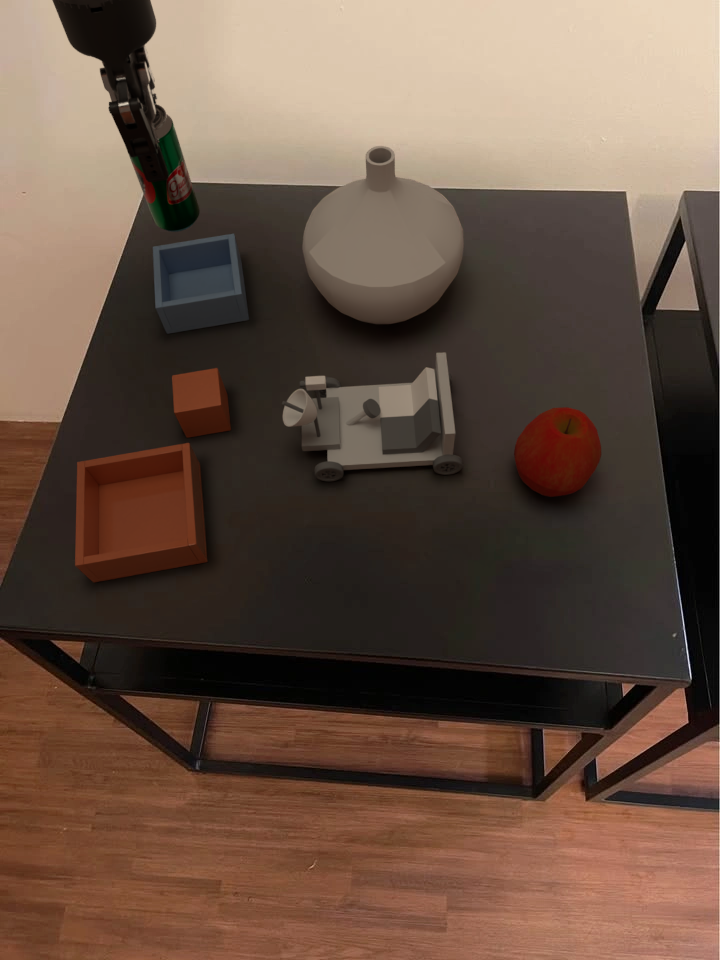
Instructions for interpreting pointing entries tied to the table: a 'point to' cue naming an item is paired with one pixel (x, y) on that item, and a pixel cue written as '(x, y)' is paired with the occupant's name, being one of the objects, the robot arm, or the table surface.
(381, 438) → the toy car
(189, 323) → the blue bin
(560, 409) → the apple
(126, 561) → the terracotta bin
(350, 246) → the vase
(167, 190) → the soda can
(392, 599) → the table surface
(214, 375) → the block
